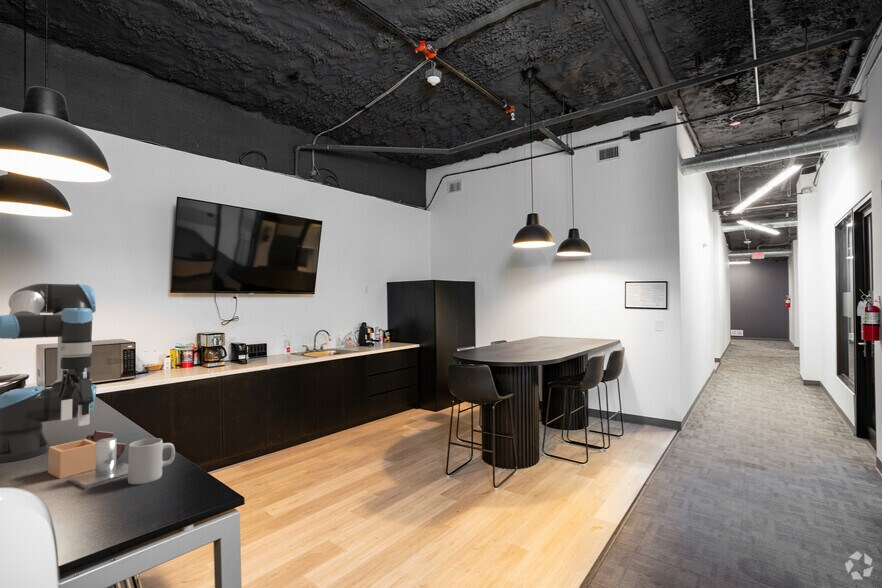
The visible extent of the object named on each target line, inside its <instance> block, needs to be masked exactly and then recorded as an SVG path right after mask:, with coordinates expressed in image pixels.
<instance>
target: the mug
mask: <svg viewBox="0 0 882 588" xmlns="http://www.w3.org/2000/svg"><path fill="white" fill-rule="evenodd" d="M165 449H170V452H171V453H170V454H171V455H170V457H169V459H166V460H164V459H163V453H164V452H163V451H164V450H165ZM175 455H176V448H175V445H174V444H173V443H171V442H163V439H162V438H158V437H151V438H142V439H140V440H135V441H132V442H130V443H129V444H128V457H127V459H128V462H127V464H128V477H127V482H128V484H130V485H144V484H149V483H152V482H155V481H158V480H159V479H161V478H162V476H163V467H166V466H168V465H169V466H170V464H172V463H173V462H174V460H175V457H176V456H175Z"/></svg>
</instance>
